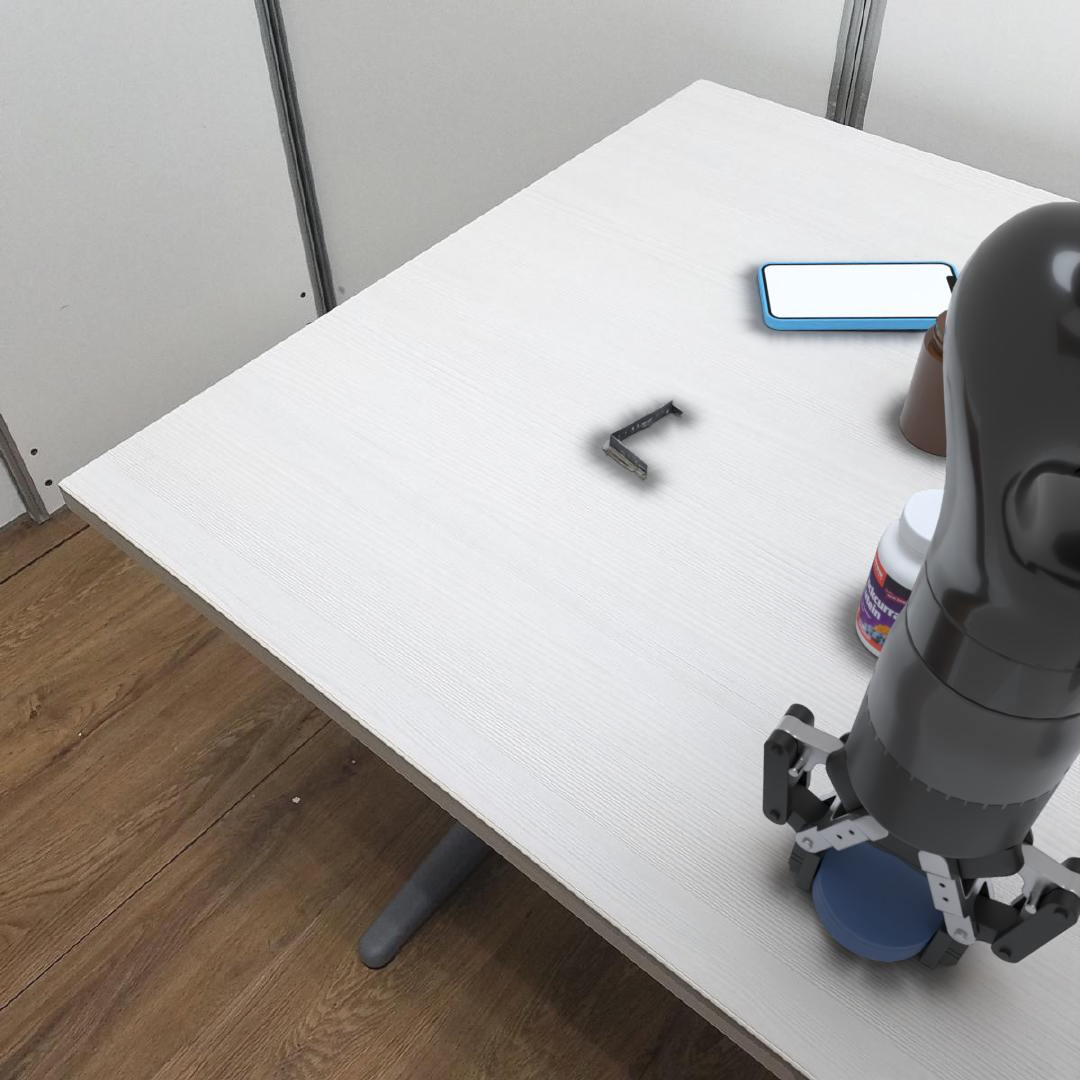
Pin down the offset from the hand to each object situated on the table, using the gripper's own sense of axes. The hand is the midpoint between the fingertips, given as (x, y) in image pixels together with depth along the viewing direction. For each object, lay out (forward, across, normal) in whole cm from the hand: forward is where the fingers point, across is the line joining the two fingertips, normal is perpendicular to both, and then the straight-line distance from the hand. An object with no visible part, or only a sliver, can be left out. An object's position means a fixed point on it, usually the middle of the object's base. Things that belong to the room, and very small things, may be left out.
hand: (871, 910), depth 55 cm
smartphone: (0, -22, +44) cm, 49 cm away
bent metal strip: (0, -27, +22) cm, 34 cm away
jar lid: (-2, 0, 0) cm, 2 cm away
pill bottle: (0, -6, +16) cm, 17 cm away
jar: (0, -11, +34) cm, 36 cm away
